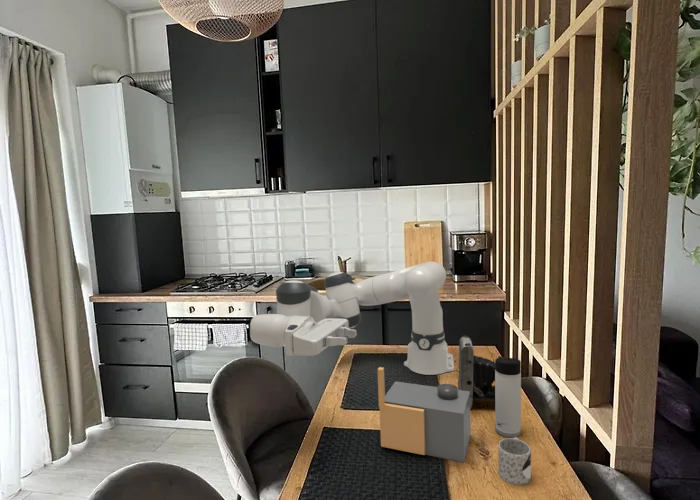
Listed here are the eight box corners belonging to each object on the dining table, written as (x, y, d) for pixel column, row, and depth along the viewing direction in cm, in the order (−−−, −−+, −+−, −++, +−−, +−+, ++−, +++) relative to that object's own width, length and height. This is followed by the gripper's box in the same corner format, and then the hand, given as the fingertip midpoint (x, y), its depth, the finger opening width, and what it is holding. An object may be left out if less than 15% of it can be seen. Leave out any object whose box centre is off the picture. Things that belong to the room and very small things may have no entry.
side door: (382, 444, 103) (379, 367, 101) (425, 452, 98) (423, 372, 96) (380, 447, 101) (377, 369, 99) (424, 456, 97) (422, 374, 95)
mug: (530, 488, 86) (530, 458, 85) (497, 480, 89) (496, 451, 88) (531, 460, 95) (531, 433, 94) (501, 454, 98) (501, 428, 97)
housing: (396, 422, 114) (395, 374, 113) (470, 435, 106) (469, 384, 105) (382, 446, 103) (380, 393, 102) (464, 463, 95) (463, 405, 94)
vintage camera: (515, 415, 116) (517, 347, 115) (459, 410, 120) (460, 344, 118) (508, 399, 126) (511, 337, 124) (457, 395, 129) (458, 334, 127)
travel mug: (498, 438, 105) (498, 363, 103) (493, 424, 111) (492, 353, 109) (524, 439, 104) (524, 363, 102) (517, 425, 110) (517, 354, 108)
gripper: (321, 332, 118) (366, 336, 112) (283, 357, 99) (334, 364, 94) (320, 311, 117) (365, 314, 112) (281, 332, 98) (333, 337, 93)
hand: (351, 337), depth 102 cm, fingers open, 4 cm apart
